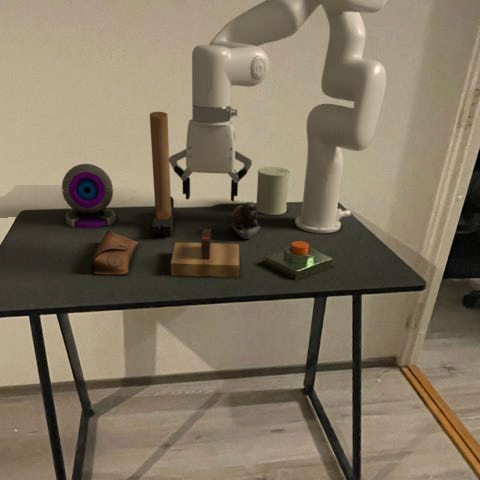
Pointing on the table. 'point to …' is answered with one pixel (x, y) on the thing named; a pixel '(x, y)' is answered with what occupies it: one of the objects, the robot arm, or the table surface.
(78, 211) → the webcam
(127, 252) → the sunglasses case
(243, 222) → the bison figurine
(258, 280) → the table surface
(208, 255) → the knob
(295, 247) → the button
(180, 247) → the light wood flat block
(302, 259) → the button box
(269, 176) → the can
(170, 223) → the hammer
